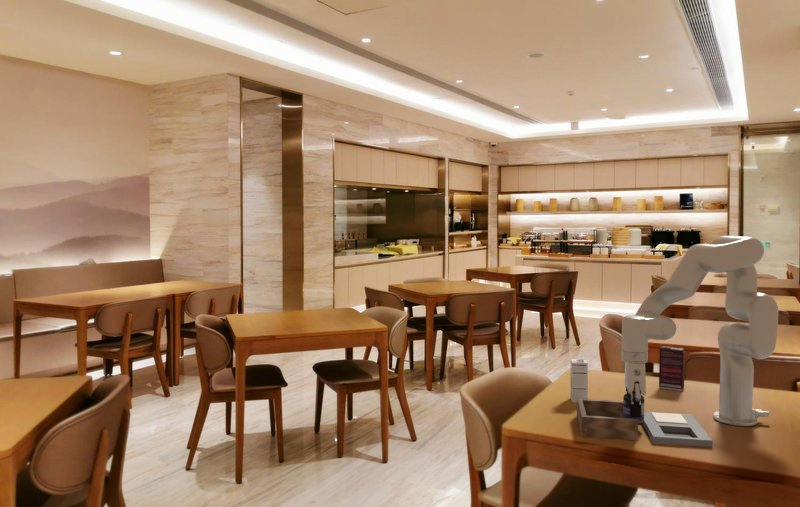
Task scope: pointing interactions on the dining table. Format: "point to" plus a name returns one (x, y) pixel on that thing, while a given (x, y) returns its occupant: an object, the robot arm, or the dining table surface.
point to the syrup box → (579, 379)
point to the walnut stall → (605, 420)
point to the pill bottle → (627, 407)
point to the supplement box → (671, 368)
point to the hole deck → (675, 429)
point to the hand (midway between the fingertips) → (633, 412)
